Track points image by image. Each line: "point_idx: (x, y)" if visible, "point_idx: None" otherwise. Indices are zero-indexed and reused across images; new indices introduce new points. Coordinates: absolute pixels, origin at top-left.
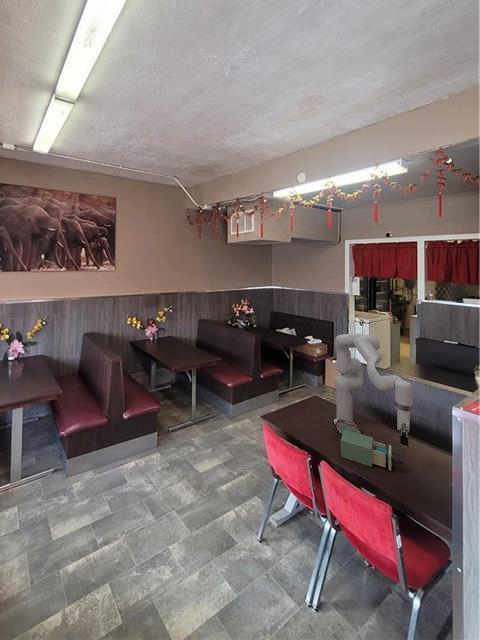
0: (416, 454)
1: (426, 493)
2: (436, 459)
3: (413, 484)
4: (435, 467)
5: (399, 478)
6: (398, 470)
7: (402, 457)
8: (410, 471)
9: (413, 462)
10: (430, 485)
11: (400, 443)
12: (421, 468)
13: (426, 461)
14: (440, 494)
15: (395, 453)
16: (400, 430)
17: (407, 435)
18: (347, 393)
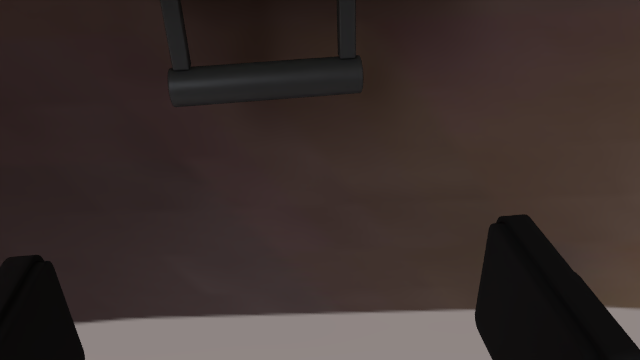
0: (626, 147)
1: (40, 232)
2: (604, 268)
3: (86, 148)
4: (479, 266)
5: (78, 35)
6: (228, 17)
7: (291, 97)
8: (291, 117)
9: (470, 132)
10: (185, 249)
11: (11, 258)
12: (404, 189)
13: (540, 215)
14: (117, 301)
15: (346, 11)
16: (537, 286)
17: (485, 336)
18: None
